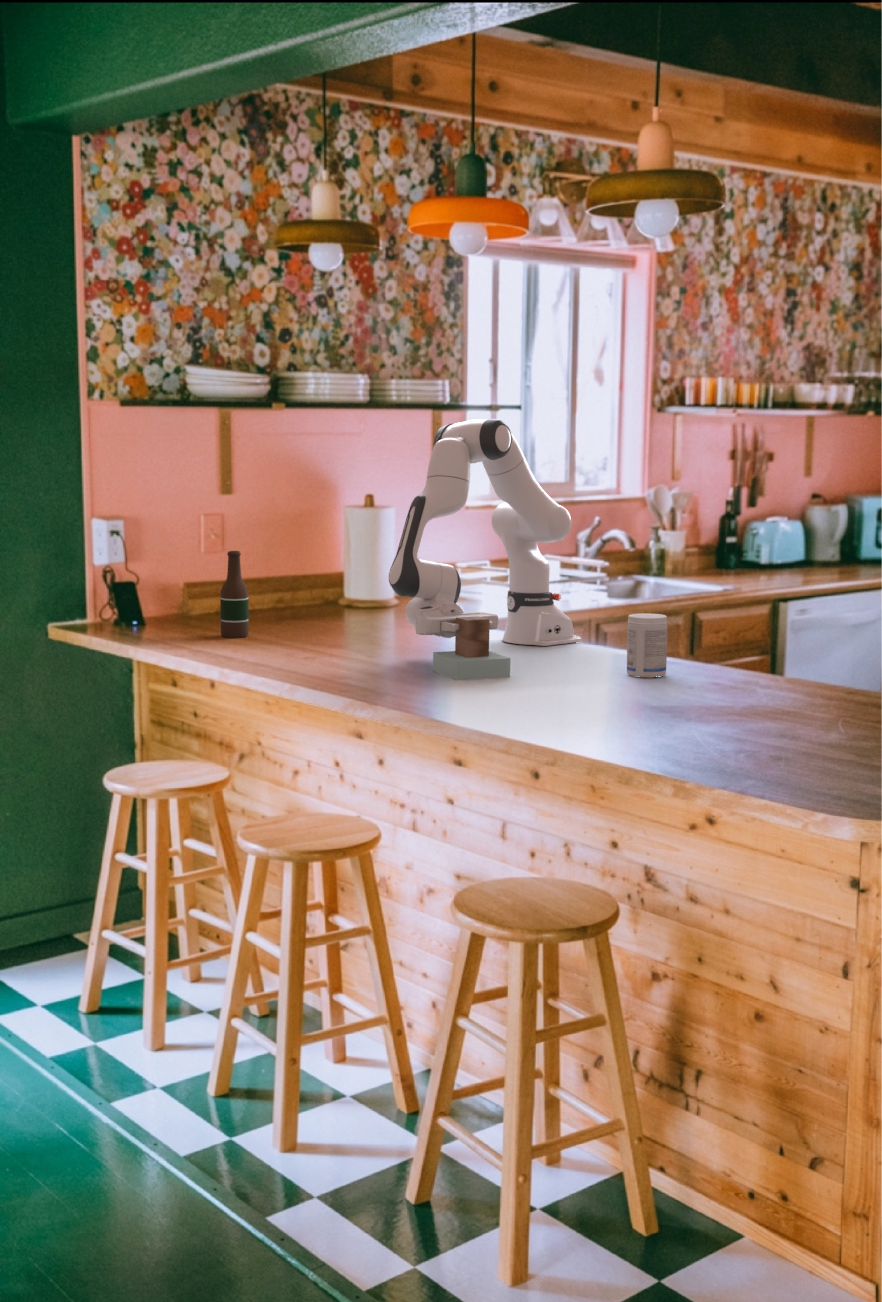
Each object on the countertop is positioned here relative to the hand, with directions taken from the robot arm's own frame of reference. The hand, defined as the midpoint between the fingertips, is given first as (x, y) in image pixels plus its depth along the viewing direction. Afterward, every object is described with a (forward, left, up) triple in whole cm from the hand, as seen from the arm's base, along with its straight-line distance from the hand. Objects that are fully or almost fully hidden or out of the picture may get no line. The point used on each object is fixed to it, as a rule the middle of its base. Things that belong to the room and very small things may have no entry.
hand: (473, 627), depth 318 cm
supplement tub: (-38, +18, -12) cm, 44 cm away
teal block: (0, -1, -12) cm, 12 cm away
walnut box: (0, -1, -7) cm, 7 cm away
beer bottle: (+32, -79, -12) cm, 86 cm away
